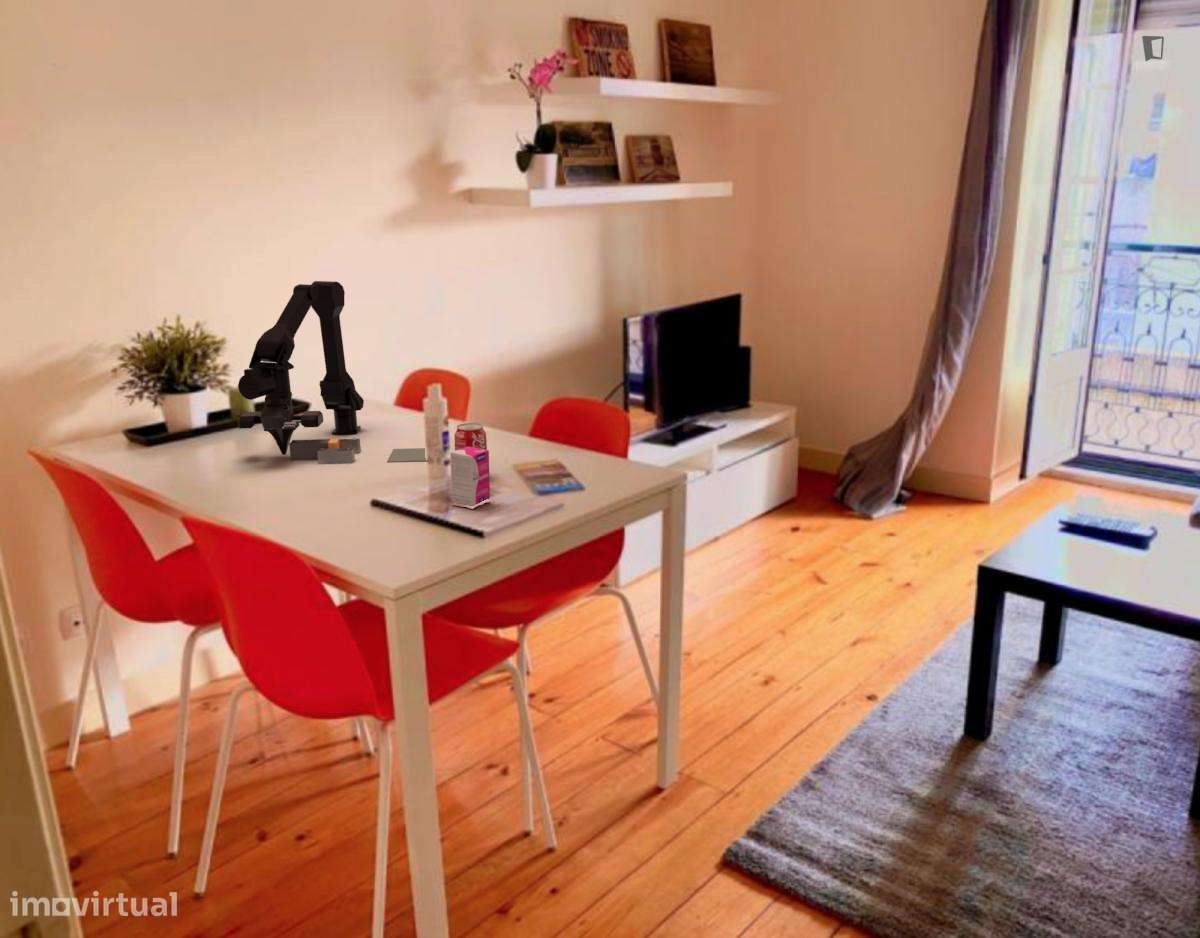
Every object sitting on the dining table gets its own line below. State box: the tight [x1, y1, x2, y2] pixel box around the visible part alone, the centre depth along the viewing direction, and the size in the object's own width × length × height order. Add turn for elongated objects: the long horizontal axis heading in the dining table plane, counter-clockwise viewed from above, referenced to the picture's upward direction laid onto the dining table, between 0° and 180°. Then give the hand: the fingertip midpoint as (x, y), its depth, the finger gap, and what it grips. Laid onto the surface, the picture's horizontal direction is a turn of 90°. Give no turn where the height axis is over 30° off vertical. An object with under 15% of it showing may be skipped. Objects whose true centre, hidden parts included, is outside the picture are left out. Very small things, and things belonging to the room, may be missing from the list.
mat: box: [386, 447, 427, 463], centre depth 234 cm, size 11×11×1 cm
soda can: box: [454, 422, 488, 451], centre depth 214 cm, size 7×7×12 cm
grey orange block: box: [288, 438, 340, 461], centre depth 232 cm, size 4×11×4 cm, turn 95°
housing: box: [317, 437, 362, 465], centre depth 232 cm, size 11×8×3 cm
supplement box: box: [450, 446, 491, 506], centre depth 197 cm, size 6×6×12 cm
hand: (284, 454), depth 232 cm, fingers closed
